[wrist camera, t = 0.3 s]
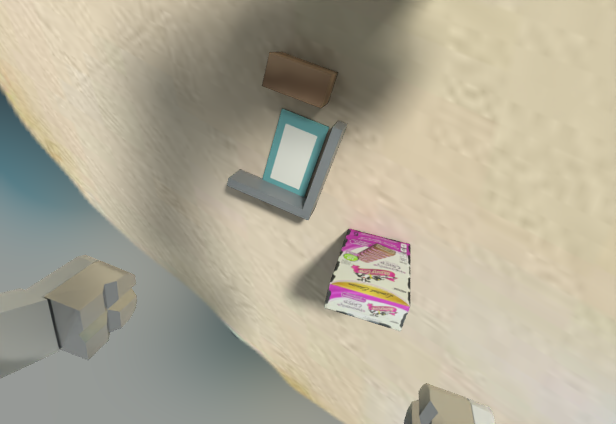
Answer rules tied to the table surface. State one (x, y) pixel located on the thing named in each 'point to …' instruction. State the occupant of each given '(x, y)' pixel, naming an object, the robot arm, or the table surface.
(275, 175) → the corner bracket
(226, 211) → the table surface
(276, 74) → the walnut block
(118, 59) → the table surface
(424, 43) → the table surface
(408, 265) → the candy bar box
